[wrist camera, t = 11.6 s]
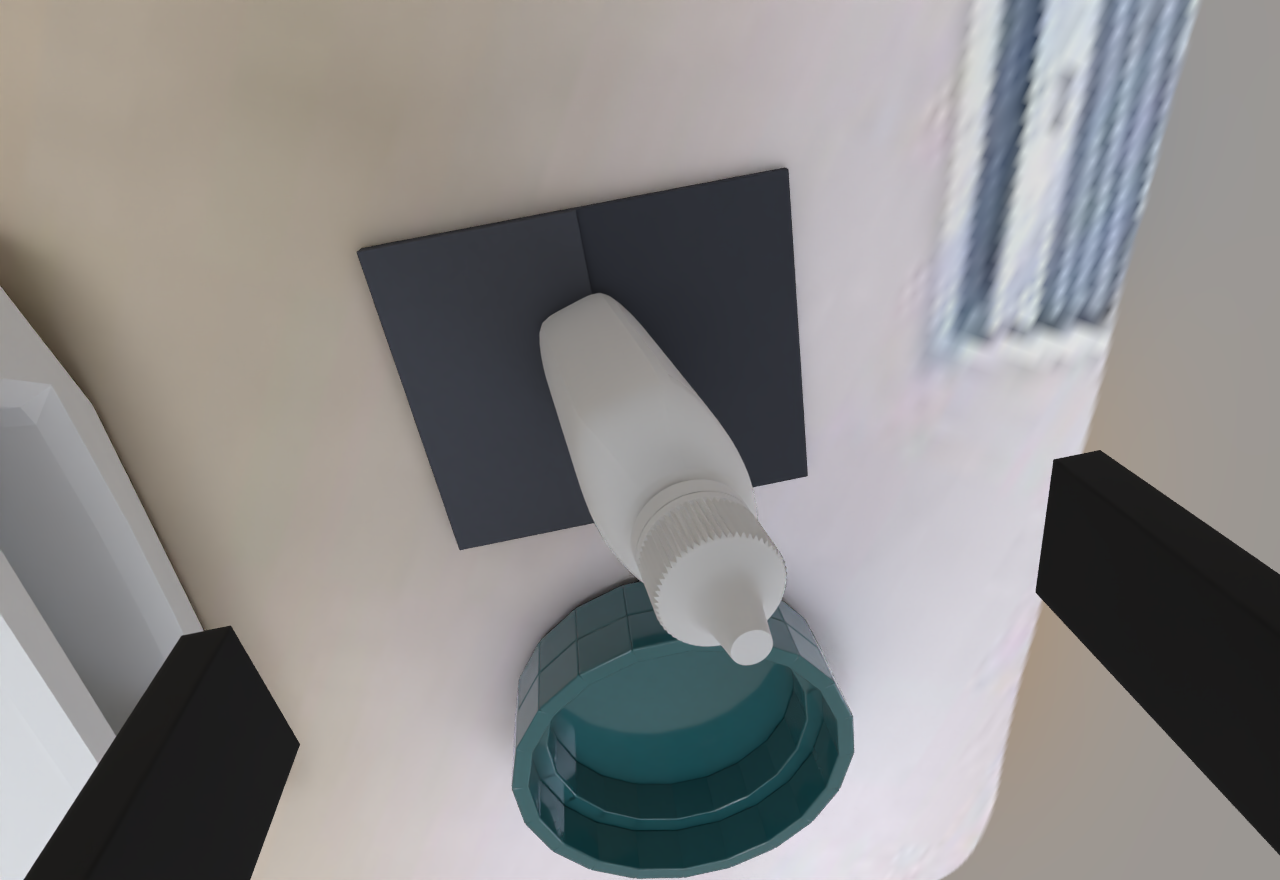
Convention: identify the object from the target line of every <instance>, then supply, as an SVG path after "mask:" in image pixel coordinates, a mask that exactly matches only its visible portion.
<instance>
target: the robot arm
mask: <svg viewBox="0 0 1280 880" xmlns="http://www.w3.org/2000/svg"><path fill="white" fill-rule="evenodd" d="M1036 593H1037V595H1038V596H1039V597H1040V598H1041V599H1042V600H1043V601H1044V602H1045V603H1046V604H1047V605H1048V606H1049V607H1050V608H1051V610H1052V611H1053V612H1054V613H1055V614H1056V615H1057V616H1058V617H1059V618H1060V619H1061V620H1062V621H1063V622H1064V624H1065V625H1066V626H1067V627H1068V628H1069V629H1070V630H1071V631H1072V632H1073V633H1074V634H1075V635H1076V636H1077V637H1078V639H1079V640H1080V641H1081V642H1082V643H1083V644H1084V645H1085V646H1086V647H1087V648H1088V649H1089V650H1090V651H1091V652H1092V654H1093V655H1094V656H1095V657H1096V658H1097V659H1098V660H1099V661H1100V662H1101V663H1102V664H1103V665H1104V667H1105V668H1106V669H1107V670H1108V671H1109V672H1110V673H1111V674H1112V675H1113V676H1114V677H1115V678H1116V680H1117V681H1118V682H1119V683H1120V684H1121V685H1122V686H1123V687H1124V688H1125V689H1126V690H1127V691H1128V692H1129V693H1130V695H1131V696H1132V697H1133V698H1134V699H1135V700H1136V701H1137V702H1138V703H1139V704H1140V705H1141V706H1142V707H1143V709H1144V710H1145V711H1146V712H1147V713H1148V714H1149V715H1150V716H1151V717H1152V718H1153V719H1154V720H1155V721H1156V723H1157V724H1158V725H1159V726H1160V727H1161V728H1162V729H1163V730H1164V731H1165V732H1166V733H1167V734H1168V735H1169V737H1171V739H1172V740H1173V741H1174V742H1175V743H1176V744H1177V745H1178V746H1179V747H1180V748H1181V749H1182V751H1183V752H1184V753H1185V754H1186V755H1187V756H1188V757H1189V758H1190V759H1191V760H1192V761H1193V762H1194V763H1195V765H1196V766H1197V767H1198V768H1199V769H1200V770H1201V771H1202V772H1203V773H1204V774H1205V775H1206V776H1207V777H1208V778H1209V780H1211V782H1212V783H1213V784H1214V785H1215V786H1216V787H1217V788H1218V789H1219V790H1220V791H1221V792H1222V794H1223V795H1224V796H1225V797H1226V798H1227V799H1228V800H1229V801H1230V802H1231V803H1232V804H1233V805H1234V806H1235V808H1237V809H1238V811H1239V812H1240V813H1241V814H1242V815H1243V816H1244V817H1245V818H1246V819H1247V820H1248V821H1249V823H1250V824H1251V825H1252V826H1253V827H1254V828H1255V829H1256V830H1257V831H1258V832H1259V833H1260V834H1261V836H1262V837H1263V838H1264V839H1265V840H1266V841H1267V842H1268V843H1269V844H1270V845H1271V846H1272V847H1273V848H1274V850H1275V851H1277V853H1278V854H1279V855H1280V574H1278V573H1277V572H1275V571H1274V570H1273V569H1271V568H1270V567H1268V566H1267V565H1265V564H1264V563H1262V562H1261V561H1260V560H1258V559H1257V558H1255V557H1254V556H1252V555H1251V554H1249V553H1248V552H1247V551H1245V550H1244V549H1242V548H1241V547H1239V546H1238V545H1236V544H1235V543H1233V542H1232V541H1231V540H1229V539H1228V538H1226V537H1225V536H1223V535H1222V534H1221V533H1219V532H1218V531H1216V530H1215V529H1213V528H1212V527H1210V526H1209V525H1207V524H1206V523H1205V522H1203V521H1202V520H1200V519H1199V518H1197V517H1196V516H1195V515H1193V514H1192V513H1190V512H1189V511H1187V510H1186V509H1184V508H1183V507H1182V506H1180V505H1179V504H1177V503H1176V502H1174V501H1173V500H1171V499H1170V498H1169V497H1167V496H1166V495H1164V494H1163V493H1161V492H1160V491H1158V490H1157V489H1156V488H1154V487H1153V486H1151V485H1150V484H1148V483H1147V482H1145V481H1144V480H1143V479H1141V478H1140V477H1138V476H1137V475H1135V474H1134V473H1132V472H1131V471H1129V470H1128V469H1127V468H1125V467H1124V466H1122V465H1121V464H1119V463H1118V462H1116V461H1115V460H1114V459H1112V458H1111V457H1109V456H1108V455H1106V454H1105V453H1103V452H1102V451H1101V450H1098V451H1094V452H1089V453H1084V454H1079V455H1074V456H1069V457H1064V458H1059V459H1054V460H1053V468H1052V475H1051V482H1050V490H1049V497H1048V504H1047V512H1046V519H1045V526H1044V534H1043V541H1042V548H1041V556H1040V563H1039V570H1038V578H1037V585H1036ZM299 746H300V743H299V742H298V740H297V738H296V737H295V735H294V733H293V731H292V730H291V728H290V726H289V725H288V723H287V721H286V719H285V718H284V716H283V714H282V713H281V711H280V709H279V707H278V706H277V704H276V702H275V701H274V699H273V697H272V695H271V694H270V692H269V690H268V689H267V687H266V685H265V683H264V682H263V680H262V678H261V677H260V675H259V673H258V671H257V670H256V668H255V666H254V665H253V663H252V661H251V659H250V658H249V656H248V654H247V653H246V651H245V649H244V647H243V646H242V644H241V642H240V641H239V639H238V637H237V635H236V634H235V632H234V630H233V628H232V627H231V626H227V627H222V628H217V629H212V630H207V631H202V632H197V633H192V634H187V635H182V636H181V637H180V638H179V640H178V642H177V643H176V645H175V646H174V648H173V649H172V651H171V652H170V654H169V655H168V657H167V659H166V660H165V662H164V663H163V665H162V666H161V668H160V669H159V671H158V672H157V674H156V676H155V677H154V679H153V680H152V682H151V683H150V685H149V686H148V688H147V689H146V691H145V693H144V694H143V696H142V697H141V699H140V700H139V702H138V703H137V705H136V706H135V708H134V710H133V711H132V713H131V714H130V716H129V717H128V719H127V720H126V722H125V723H124V725H123V727H122V728H121V730H120V731H119V733H118V734H117V736H116V737H115V739H114V740H113V742H112V744H111V745H110V747H109V748H108V750H107V751H106V753H105V754H104V756H103V757H102V759H101V761H100V762H99V764H98V765H97V767H96V768H95V770H94V771H93V773H92V774H91V776H90V778H89V779H88V781H87V782H86V784H85V785H84V787H83V788H82V790H81V791H80V793H79V795H78V796H77V798H76V799H75V801H74V802H73V804H72V805H71V807H70V808H69V810H68V812H67V813H66V815H65V816H64V818H63V819H62V821H61V822H60V824H59V825H58V827H57V829H56V830H55V832H54V833H53V835H52V836H51V838H50V839H49V841H48V842H47V844H46V846H45V847H44V849H43V850H42V852H41V853H40V855H39V856H38V858H37V859H36V861H35V863H34V864H33V866H32V867H31V869H30V870H29V872H28V873H27V875H26V876H25V878H24V880H250V879H251V876H252V873H253V871H254V868H255V865H256V863H257V860H258V857H259V854H260V852H261V849H262V846H263V843H264V841H265V838H266V835H267V833H268V830H269V827H270V824H271V822H272V819H273V816H274V814H275V811H276V808H277V805H278V803H279V800H280V797H281V795H282V792H283V789H284V786H285V784H286V781H287V778H288V775H289V773H290V770H291V767H292V765H293V762H294V759H295V756H296V754H297V751H298V748H299Z"/></svg>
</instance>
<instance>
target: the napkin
mask: <svg viewBox="0 0 1280 880" xmlns="http://www.w3.org/2000/svg"><path fill="white" fill-rule="evenodd" d="M357 255H358V258H359V261H360V263H361V266H362V269H363V272H364V275H365V278H366V281H367V284H368V287H369V289H370V292H371V295H372V298H373V301H374V304H375V307H376V310H377V313H378V315H379V318H380V321H381V324H382V327H383V330H384V333H385V336H386V339H387V341H388V344H389V347H390V350H391V353H392V356H393V359H394V362H395V365H396V368H397V370H398V373H399V376H400V379H401V382H402V385H403V388H404V391H405V394H406V396H407V399H408V402H409V405H410V408H411V411H412V414H413V417H414V420H415V422H416V425H417V428H418V431H419V434H420V437H421V440H422V443H423V446H424V448H425V451H426V454H427V457H428V460H429V463H430V466H431V469H432V472H433V474H434V477H435V480H436V483H437V486H438V489H439V492H440V495H441V498H442V500H443V503H444V506H445V509H446V512H447V515H448V518H449V521H450V524H451V526H452V529H453V532H454V535H455V538H456V541H457V544H458V547H459V550H463V549H468V548H473V547H478V546H483V545H488V544H493V543H498V542H502V541H507V540H512V539H517V538H522V537H527V536H532V535H537V534H542V533H547V532H552V531H557V530H562V529H567V528H571V527H576V526H581V525H586V524H591V523H594V521H593V518H592V516H591V514H590V512H589V509H588V507H587V504H586V501H585V499H584V496H583V493H582V491H581V488H580V485H579V481H578V478H577V475H576V472H575V469H574V466H573V463H572V459H571V456H570V453H569V450H568V447H567V443H566V440H565V437H564V434H563V431H562V428H561V424H560V421H559V418H558V415H557V411H556V408H555V405H554V402H553V399H552V395H551V392H550V389H549V386H548V382H547V379H546V376H545V372H544V368H543V363H542V358H541V351H540V337H539V333H540V329H541V326H542V323H543V322H544V321H545V320H546V319H547V318H548V317H549V316H551V315H552V314H554V313H556V312H558V311H559V310H561V309H563V308H565V307H567V306H569V305H571V304H573V303H574V302H576V301H578V300H580V299H582V298H584V297H586V296H589V295H591V294H596V293H602V294H605V295H608V296H610V297H612V298H613V299H614V300H616V301H617V302H619V303H620V304H621V305H622V306H623V307H624V308H625V309H626V310H628V311H629V312H630V313H631V314H632V315H633V316H634V317H635V319H636V320H637V321H638V322H639V323H640V324H641V325H642V327H643V328H644V329H645V330H646V331H647V333H648V334H649V335H650V336H651V338H652V339H653V340H654V341H655V342H656V344H657V345H658V346H659V347H660V349H661V350H662V351H663V352H664V354H665V355H666V356H667V357H668V359H669V360H670V361H671V362H672V363H673V365H674V366H675V367H676V368H677V370H678V371H679V372H680V373H681V375H682V376H683V377H684V378H685V380H686V381H687V382H688V383H689V385H690V386H691V387H692V388H693V389H694V391H695V392H696V393H697V395H698V396H699V397H700V398H701V400H702V401H703V402H704V403H705V405H706V406H707V407H708V408H709V410H710V411H711V412H712V414H713V415H714V416H715V417H716V419H717V420H718V421H719V423H720V424H721V426H722V427H723V428H724V430H725V431H726V433H727V434H728V436H729V437H730V439H731V440H732V442H733V444H734V445H735V447H736V449H737V451H738V453H739V455H740V457H741V459H742V461H743V463H744V465H745V467H746V470H747V472H748V475H749V478H750V481H751V484H752V487H756V486H761V485H766V484H771V483H776V482H781V481H786V480H791V479H796V478H801V477H806V476H808V473H807V457H806V441H805V425H804V409H803V394H802V378H801V362H800V346H799V330H798V315H797V299H796V283H795V267H794V251H793V235H792V220H791V204H790V188H789V172H788V169H787V168H780V169H775V170H770V171H765V172H759V173H754V174H749V175H744V176H738V177H733V178H728V179H723V180H717V181H712V182H707V183H702V184H696V185H691V186H686V187H681V188H675V189H670V190H665V191H660V192H654V193H649V194H644V195H638V196H633V197H628V198H623V199H617V200H612V201H607V202H602V203H596V204H591V205H586V206H581V207H575V208H570V209H565V210H560V211H554V212H549V213H544V214H539V215H533V216H528V217H523V218H518V219H512V220H507V221H502V222H497V223H491V224H486V225H481V226H475V227H470V228H465V229H460V230H454V231H449V232H444V233H439V234H433V235H428V236H423V237H418V238H412V239H407V240H402V241H397V242H391V243H386V244H381V245H376V246H370V247H365V248H361V249H360V250H359V251H357Z"/></svg>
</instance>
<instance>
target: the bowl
mask: <svg viewBox="0 0 1280 880" xmlns="http://www.w3.org/2000/svg"><path fill="white" fill-rule="evenodd" d="M767 622H768V625H769V629H770V632H771V636H772V639H773V647H772V650H771V652H770V653H769V654H768V656H767V657H766V658H765V659H763V660H762V661H760V662H758V663H756V664H753V665H740V664H738V663H736V662H735V661H734V660H733V659H732V658H731V657H730V655H729V654H728V653H727V652H726V651H725V649H724V648H723V647H722V646H721V645H719V646H695V645H691V644H688V643H684V642H682V641H680V640H677V638H674V637H672V635H671V634H668V632H667V630H664V628H663V626H662V625H660V622H659V620H658V619H657V617H656V614H655V612H654V609H653V606H652V604H651V601H650V598H649V596H648V593H647V591H646V588H645V585H644V583H643V582H641V581H640V582H635V583H631V584H626V585H623V586H619V587H617V588H615V589H613V590H611V591H609V592H607V593H605V594H603V595H601V596H599V597H597V598H595V599H593V600H591V601H589V602H587V603H585V604H583V605H581V606H579V607H577V608H576V609H575V610H573V611H572V612H571V613H570V614H569V615H568V616H567V617H565V618H564V619H563V620H562V621H561V622H560V623H559V624H558V625H557V626H556V627H554V628H553V629H552V630H551V631H550V632H549V633H548V634H547V635H546V636H545V637H543V638H542V639H541V641H540V642H539V643H538V645H537V647H536V649H535V650H534V652H533V654H532V656H531V658H530V660H529V661H528V663H527V665H526V667H525V669H524V671H523V672H522V674H521V676H520V679H519V684H518V693H517V703H516V713H515V730H514V750H513V768H512V791H513V793H514V796H515V799H516V801H517V804H518V807H519V809H520V812H521V815H522V817H523V820H524V822H525V823H526V825H527V826H528V827H529V828H530V829H531V830H532V831H533V832H534V833H535V834H536V835H537V836H538V837H539V838H540V839H541V840H542V841H543V842H544V843H545V844H546V845H547V846H548V847H549V848H550V849H551V850H552V851H554V852H555V853H557V854H559V855H561V856H563V857H565V858H567V859H569V860H571V861H573V862H575V863H578V864H580V865H582V866H584V867H586V868H588V869H591V870H594V871H599V872H604V873H609V874H614V875H619V876H624V877H629V878H637V879H646V878H682V877H684V878H685V877H690V876H695V875H699V874H704V873H708V872H713V871H718V870H722V869H727V868H730V867H733V866H735V865H738V864H740V863H742V862H745V861H747V860H749V859H752V858H754V857H756V856H759V855H761V854H763V853H766V852H768V851H770V850H772V849H774V848H776V847H778V846H779V845H781V844H782V843H784V842H785V841H786V840H788V839H789V838H791V837H792V836H793V835H795V834H796V833H798V832H799V831H800V830H802V829H803V828H805V827H806V826H807V825H809V824H810V823H811V822H812V821H814V819H815V818H816V817H817V816H818V815H819V813H820V812H821V811H822V810H823V809H824V807H825V806H826V805H827V804H828V803H829V802H830V800H831V799H832V798H833V797H834V796H835V794H836V793H837V792H838V791H839V789H840V788H841V785H842V782H843V780H844V777H845V775H846V772H847V770H848V767H849V765H850V762H851V760H852V757H853V755H854V730H853V715H852V712H851V710H850V708H849V706H848V704H847V702H846V700H845V698H844V696H843V694H842V692H841V690H840V688H839V686H838V683H837V681H836V679H835V677H834V675H833V673H832V671H831V669H830V667H829V665H828V663H827V661H826V659H825V656H824V654H823V652H822V650H821V648H820V647H819V645H818V643H817V641H816V639H815V637H814V635H813V634H812V632H811V630H810V628H809V626H808V624H807V622H806V620H805V619H804V618H803V617H802V616H801V615H799V614H798V613H797V612H796V611H794V610H793V609H792V608H791V607H789V606H788V605H787V604H786V603H784V602H783V601H782V600H781V601H780V604H779V605H778V607H777V609H776V610H775V612H774V613H773V614H772V615H771V617H770V618H769V619H768V620H767Z"/></svg>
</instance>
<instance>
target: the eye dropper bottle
mask: <svg viewBox="0 0 1280 880" xmlns="http://www.w3.org/2000/svg"><path fill="white" fill-rule="evenodd" d="M539 337H540V351H541V358H542V363H543V368H544V372H545V376H546V379H547V382H548V386H549V389H550V392H551V395H552V399H553V402H554V405H555V408H556V411H557V415H558V418H559V421H560V424H561V428H562V431H563V434H564V437H565V440H566V443H567V447H568V450H569V453H570V456H571V459H572V463H573V466H574V469H575V472H576V475H577V478H578V481H579V485H580V488H581V491H582V493H583V496H584V499H585V501H586V504H587V507H588V509H589V512H590V514H591V516H592V518H593V521H594V523H595V525H596V526H597V528H598V530H599V532H600V534H601V536H602V537H603V539H604V541H605V542H606V544H607V545H608V547H609V548H610V550H611V551H612V552H613V553H614V555H615V556H616V557H617V558H618V560H619V561H620V562H621V563H622V564H623V565H624V566H625V567H626V568H627V569H628V570H629V571H630V572H631V573H632V574H633V575H634V576H635V577H636V578H637V579H639V580H640V581H641V582H643V583H644V585H645V588H646V591H647V593H648V596H649V598H650V601H651V604H652V606H653V609H654V612H655V614H656V617H657V619H658V620H659V622H660V625H662V626H663V628H664V630H667V632H668V634H671V635H672V637H674V638H677V640H680V641H682V642H684V643H688V644H691V645H695V646H719V645H721V646H722V647H723V648H724V649H725V651H726V652H727V653H728V654H729V655H730V657H731V658H732V659H733V660H734V661H735V662H736V663H738V664H740V665H753V664H756V663H758V662H760V661H762V660H763V659H765V658H766V657H767V656H768V654H769V653H770V652H771V650H772V647H773V639H772V636H771V632H770V629H769V625H768V622H767V620H768V619H769V618H770V617H771V615H772V614H773V613H774V612H775V610H776V609H777V607H778V605H779V604H780V601H781V599H782V598H783V594H784V592H785V587H786V581H787V578H786V575H787V572H786V566H785V562H784V560H783V557H782V555H781V554H780V551H779V550H778V549H777V547H776V546H775V544H774V543H773V542H772V540H771V539H770V537H769V536H768V535H767V533H766V532H765V530H764V529H763V527H762V526H761V525H760V523H759V522H758V513H757V505H756V500H755V495H754V491H753V487H752V484H751V481H750V478H749V475H748V472H747V470H746V467H745V465H744V463H743V461H742V459H741V457H740V455H739V453H738V451H737V449H736V447H735V445H734V444H733V442H732V440H731V439H730V437H729V436H728V434H727V433H726V431H725V430H724V428H723V427H722V426H721V424H720V423H719V421H718V420H717V419H716V417H715V416H714V415H713V414H712V412H711V411H710V410H709V408H708V407H707V406H706V405H705V403H704V402H703V401H702V400H701V398H700V397H699V396H698V395H697V393H696V392H695V391H694V389H693V388H692V387H691V386H690V385H689V383H688V382H687V381H686V380H685V378H684V377H683V376H682V375H681V373H680V372H679V371H678V370H677V368H676V367H675V366H674V365H673V363H672V362H671V361H670V360H669V359H668V357H667V356H666V355H665V354H664V352H663V351H662V350H661V349H660V347H659V346H658V345H657V344H656V342H655V341H654V340H653V339H652V338H651V336H650V335H649V334H648V333H647V331H646V330H645V329H644V328H643V327H642V325H641V324H640V323H639V322H638V321H637V320H636V319H635V317H634V316H633V315H632V314H631V313H630V312H629V311H628V310H626V309H625V308H624V307H623V306H622V305H621V304H620V303H619V302H617V301H616V300H614V299H613V298H612V297H610V296H608V295H605V294H602V293H596V294H591V295H589V296H586V297H584V298H582V299H580V300H578V301H576V302H574V303H573V304H571V305H569V306H567V307H565V308H563V309H561V310H559V311H558V312H556V313H554V314H552V315H551V316H549V317H548V318H547V319H546V320H545V321H544V322H543V323H542V326H541V329H540V333H539Z"/></svg>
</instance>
